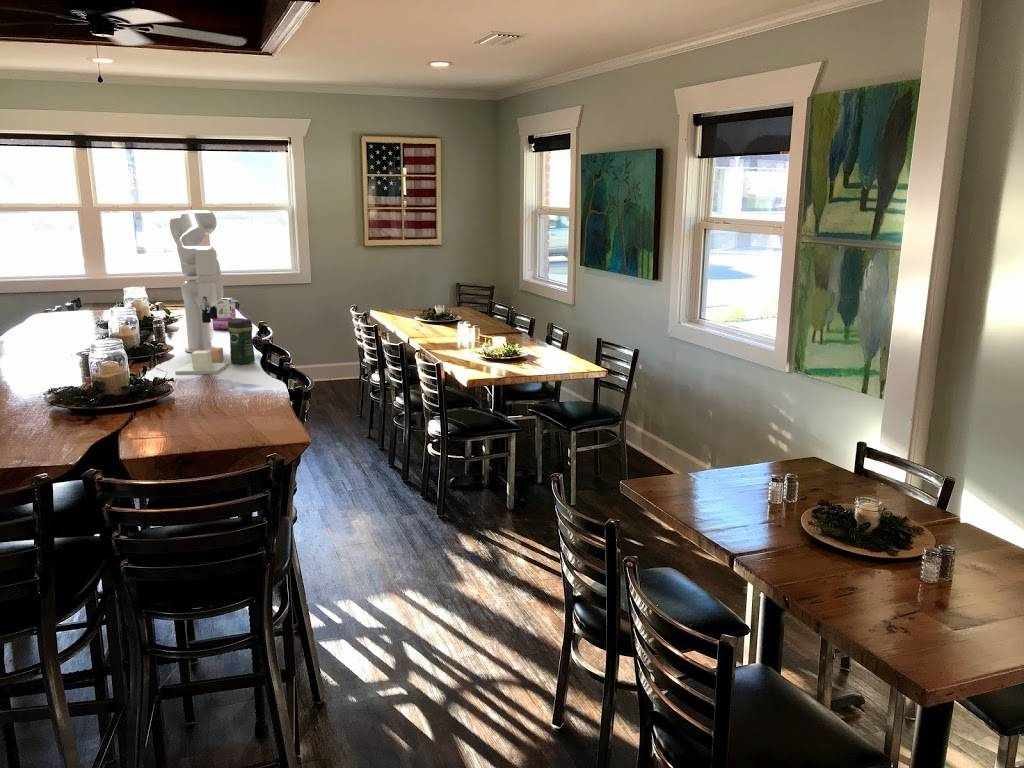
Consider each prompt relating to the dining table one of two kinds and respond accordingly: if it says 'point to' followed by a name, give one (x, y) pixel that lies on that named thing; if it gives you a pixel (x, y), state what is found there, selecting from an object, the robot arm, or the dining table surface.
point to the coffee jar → (241, 341)
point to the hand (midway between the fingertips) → (210, 320)
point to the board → (202, 369)
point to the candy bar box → (224, 313)
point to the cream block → (201, 359)
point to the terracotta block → (216, 354)
